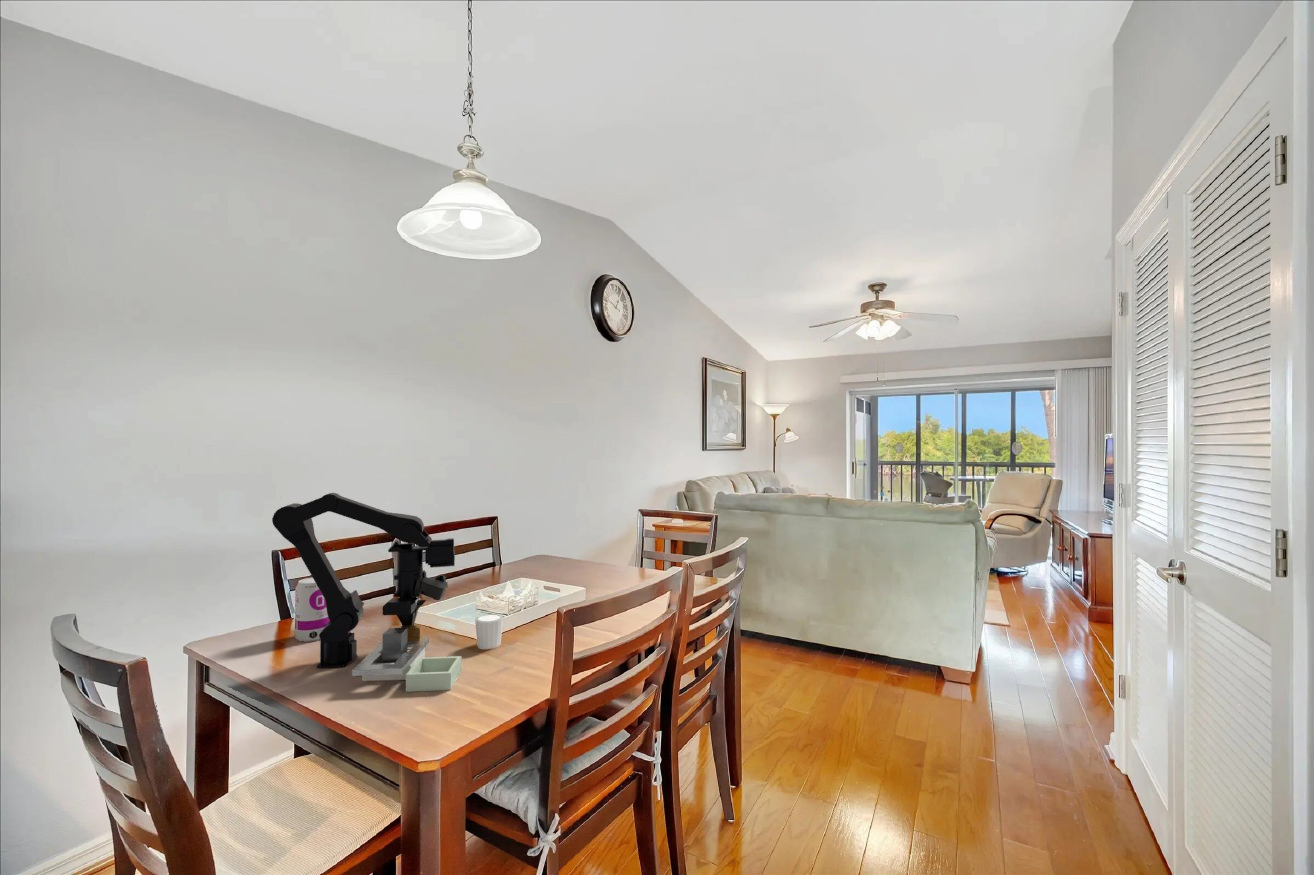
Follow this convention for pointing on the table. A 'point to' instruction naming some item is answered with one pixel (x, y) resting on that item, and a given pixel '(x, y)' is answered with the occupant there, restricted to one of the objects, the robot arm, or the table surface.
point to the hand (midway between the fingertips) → (409, 633)
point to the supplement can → (309, 611)
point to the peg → (394, 644)
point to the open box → (433, 673)
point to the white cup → (489, 630)
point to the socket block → (393, 676)
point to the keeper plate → (401, 664)
